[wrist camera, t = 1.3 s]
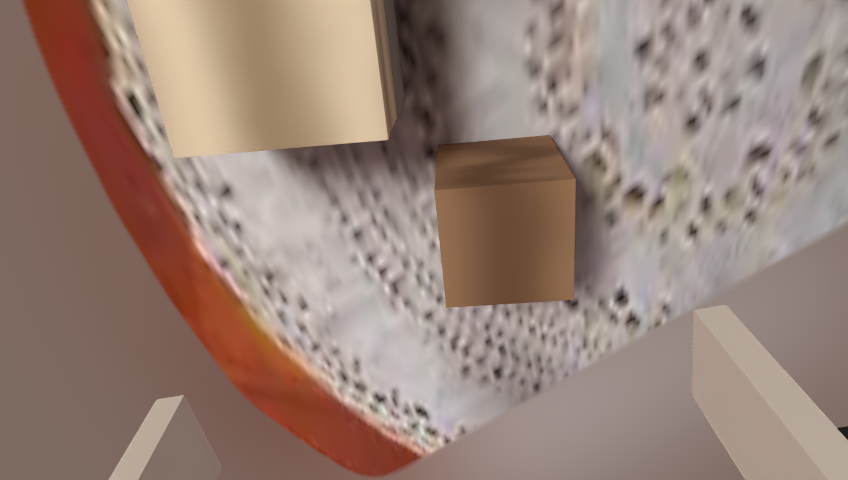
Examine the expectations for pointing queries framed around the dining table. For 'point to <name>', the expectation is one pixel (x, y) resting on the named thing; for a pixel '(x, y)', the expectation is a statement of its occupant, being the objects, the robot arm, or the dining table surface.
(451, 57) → the dining table surface
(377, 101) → the tower top
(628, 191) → the dining table surface
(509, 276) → the walnut block
